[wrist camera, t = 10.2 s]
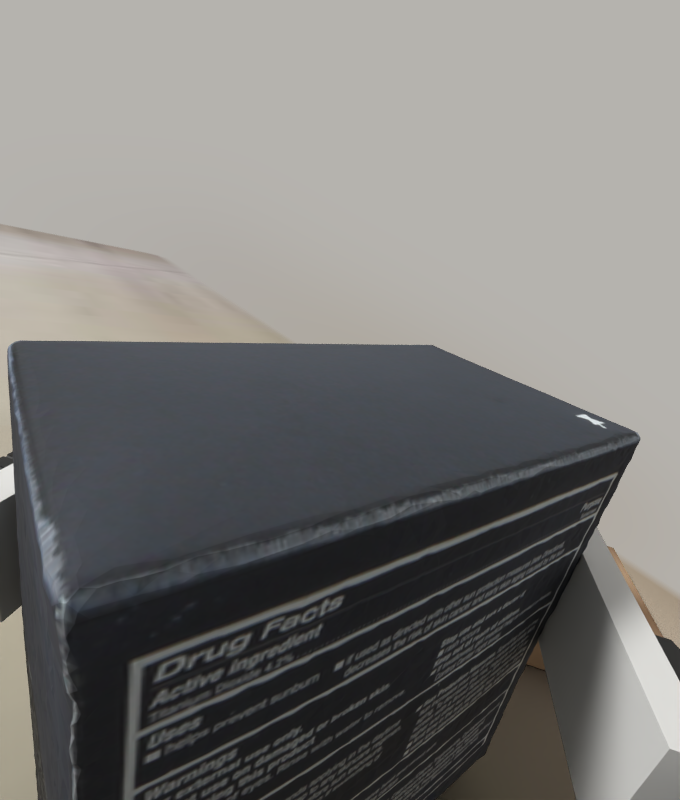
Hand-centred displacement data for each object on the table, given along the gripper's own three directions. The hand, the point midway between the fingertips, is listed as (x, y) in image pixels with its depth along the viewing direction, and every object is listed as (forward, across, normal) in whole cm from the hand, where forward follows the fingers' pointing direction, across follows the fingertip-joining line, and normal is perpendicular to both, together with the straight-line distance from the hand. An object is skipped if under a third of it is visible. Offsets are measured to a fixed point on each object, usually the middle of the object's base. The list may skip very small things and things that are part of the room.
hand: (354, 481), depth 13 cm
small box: (-4, 0, -6) cm, 7 cm away
